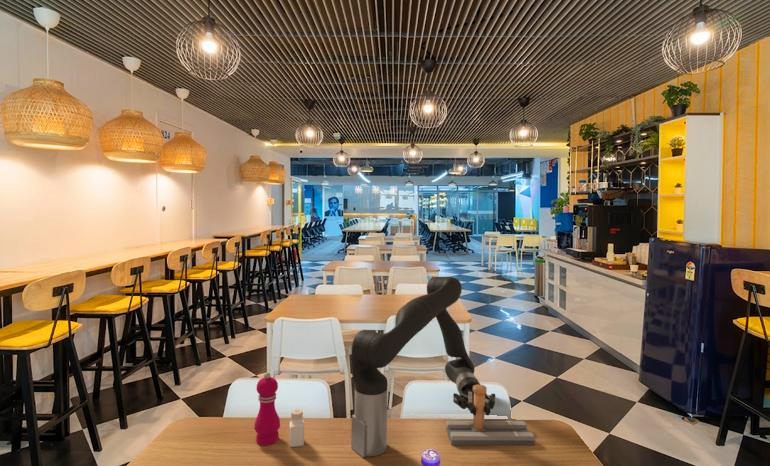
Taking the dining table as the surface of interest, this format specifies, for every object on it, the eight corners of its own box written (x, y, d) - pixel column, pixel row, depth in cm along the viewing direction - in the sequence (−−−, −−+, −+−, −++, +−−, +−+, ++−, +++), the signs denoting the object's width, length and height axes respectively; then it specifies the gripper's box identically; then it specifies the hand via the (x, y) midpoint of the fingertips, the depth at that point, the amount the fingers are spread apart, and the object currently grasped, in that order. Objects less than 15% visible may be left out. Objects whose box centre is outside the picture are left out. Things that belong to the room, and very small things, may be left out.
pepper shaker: (303, 447, 122) (303, 414, 121) (289, 448, 121) (289, 415, 121) (304, 439, 126) (304, 407, 125) (290, 440, 125) (290, 408, 125)
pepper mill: (285, 439, 126) (285, 372, 124) (263, 449, 120) (262, 379, 119) (271, 430, 131) (271, 366, 129) (249, 439, 125) (249, 372, 124)
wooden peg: (473, 435, 126) (474, 390, 125) (470, 428, 130) (471, 384, 129) (486, 435, 126) (488, 390, 126) (483, 428, 130) (484, 384, 130)
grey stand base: (451, 445, 124) (451, 435, 124) (446, 429, 133) (446, 420, 133) (534, 445, 124) (534, 436, 124) (523, 429, 133) (523, 420, 133)
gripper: (448, 376, 142) (457, 399, 125) (490, 376, 142) (506, 399, 125) (447, 398, 142) (457, 424, 125) (489, 398, 143) (505, 425, 125)
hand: (481, 412), depth 125 cm, fingers closed on wooden peg, 3 cm apart
